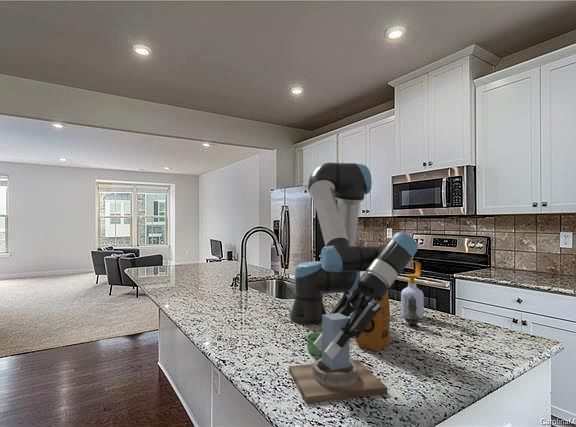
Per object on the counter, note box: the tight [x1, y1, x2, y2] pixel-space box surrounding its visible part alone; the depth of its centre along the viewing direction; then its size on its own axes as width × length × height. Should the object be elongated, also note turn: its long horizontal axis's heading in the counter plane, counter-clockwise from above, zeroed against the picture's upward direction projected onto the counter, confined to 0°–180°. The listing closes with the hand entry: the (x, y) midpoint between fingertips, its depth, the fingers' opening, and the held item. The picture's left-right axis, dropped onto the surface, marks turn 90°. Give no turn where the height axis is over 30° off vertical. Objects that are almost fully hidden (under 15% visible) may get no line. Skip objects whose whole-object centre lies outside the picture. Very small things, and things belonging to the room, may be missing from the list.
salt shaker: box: [403, 295, 421, 329], centre depth 130 cm, size 6×6×12 cm
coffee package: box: [355, 291, 391, 352], centre depth 111 cm, size 10×12×22 cm
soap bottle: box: [400, 259, 425, 320], centre depth 143 cm, size 9×9×25 cm
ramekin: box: [305, 332, 322, 357], centre depth 104 cm, size 9×9×4 cm
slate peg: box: [321, 313, 351, 370], centre depth 84 cm, size 5×5×12 cm
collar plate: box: [288, 357, 388, 405], centre depth 84 cm, size 16×20×4 cm
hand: (322, 351), depth 82 cm, fingers closed on slate peg, 5 cm apart
